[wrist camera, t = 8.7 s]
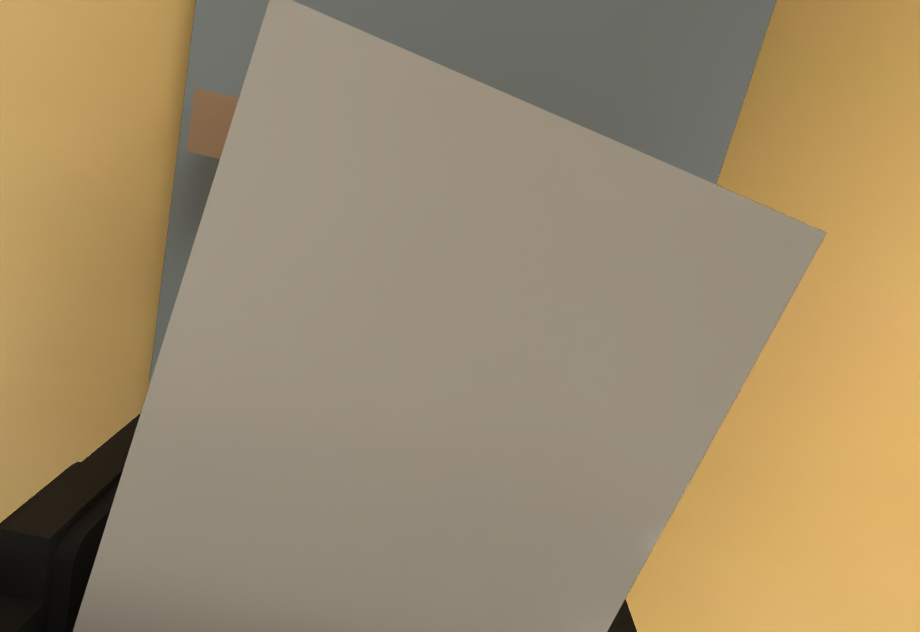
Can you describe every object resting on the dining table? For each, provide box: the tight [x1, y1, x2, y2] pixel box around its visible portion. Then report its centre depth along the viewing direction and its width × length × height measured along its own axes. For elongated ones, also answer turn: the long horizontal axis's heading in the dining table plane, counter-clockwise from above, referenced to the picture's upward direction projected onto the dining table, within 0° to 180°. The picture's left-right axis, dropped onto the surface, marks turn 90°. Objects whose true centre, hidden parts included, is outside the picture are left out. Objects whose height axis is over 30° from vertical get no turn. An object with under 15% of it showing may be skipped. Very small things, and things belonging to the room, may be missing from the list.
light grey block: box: [73, 0, 826, 632], centre depth 10 cm, size 14×5×5 cm, turn 158°
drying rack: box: [149, 0, 776, 385], centre depth 16 cm, size 22×12×3 cm, turn 167°
